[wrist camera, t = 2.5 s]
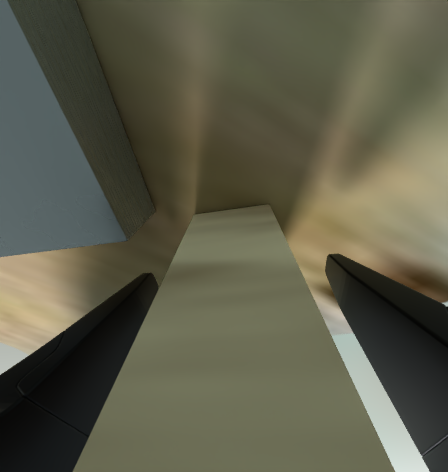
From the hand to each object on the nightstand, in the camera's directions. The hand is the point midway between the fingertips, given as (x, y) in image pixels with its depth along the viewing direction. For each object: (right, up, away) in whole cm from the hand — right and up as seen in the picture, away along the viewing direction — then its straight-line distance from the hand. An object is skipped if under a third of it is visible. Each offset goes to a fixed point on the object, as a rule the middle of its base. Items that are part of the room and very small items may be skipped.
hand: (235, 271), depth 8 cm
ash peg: (0, +1, +2) cm, 2 cm away
